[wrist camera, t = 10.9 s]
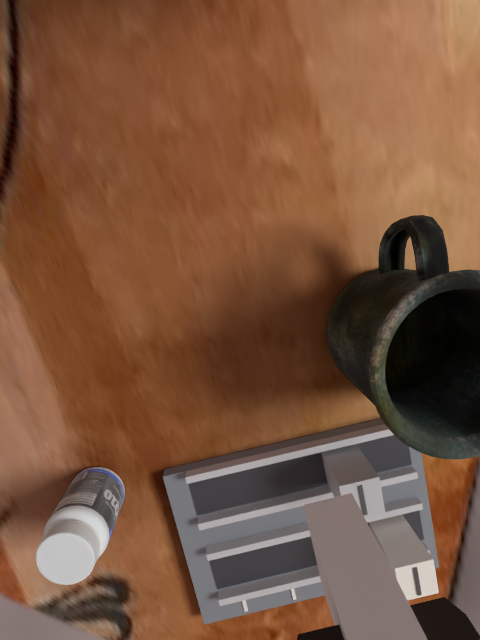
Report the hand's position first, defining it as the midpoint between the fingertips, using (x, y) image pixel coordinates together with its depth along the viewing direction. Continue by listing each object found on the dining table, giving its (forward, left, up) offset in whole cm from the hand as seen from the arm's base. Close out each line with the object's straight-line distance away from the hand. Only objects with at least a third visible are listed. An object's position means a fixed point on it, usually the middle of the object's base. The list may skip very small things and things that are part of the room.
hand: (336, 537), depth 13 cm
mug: (-1, +11, -23) cm, 26 cm away
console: (+16, +1, -23) cm, 28 cm away
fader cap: (+18, +8, -22) cm, 29 cm away
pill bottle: (+9, -16, -23) cm, 30 cm away
